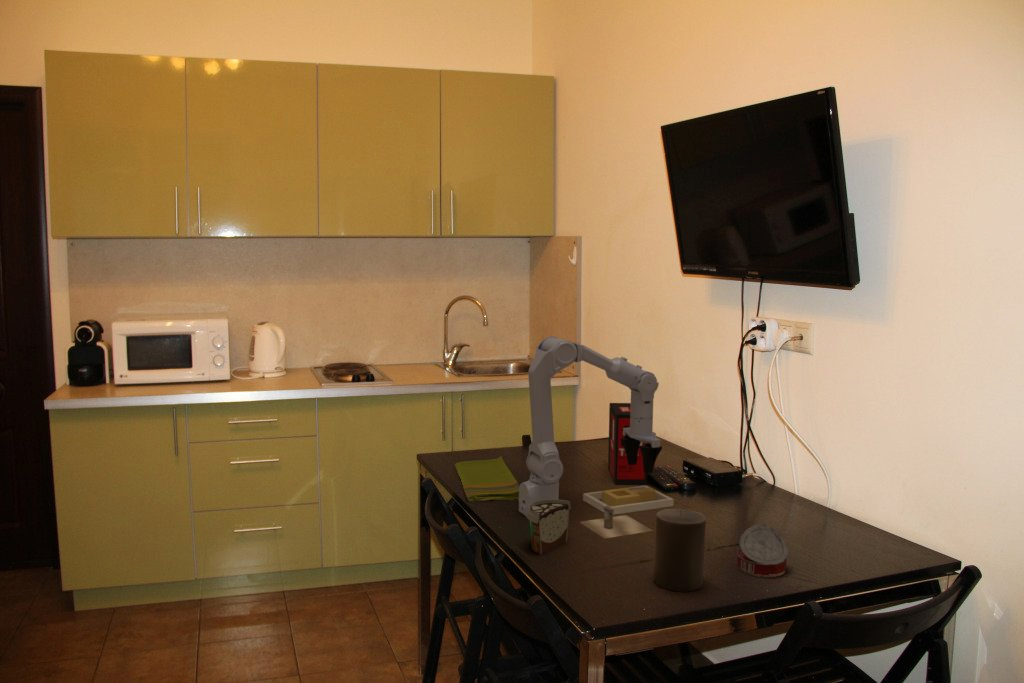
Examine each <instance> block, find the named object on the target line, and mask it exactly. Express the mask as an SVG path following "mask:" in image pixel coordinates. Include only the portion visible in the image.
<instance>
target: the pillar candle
mask: <svg viewBox="0 0 1024 683" xmlns="http://www.w3.org/2000/svg"><path fill="white" fill-rule="evenodd" d="M706 521H707V518H706V516H705V515H704V514H703V513H700V512H698V511H695V510H690V509H684V508H683V509H682V508H681V509H680V508H665V509H663V510H660V511H658V512H657V513H656V525H655V543H654V544H655V547H654V565H653V580H654V583H655V584H656V585H657V586H659V587H661V588H662V589H664V590H665V589H666V590H669V591H675V592H682V593H687V592H693V591H697V590H699V589H701V588H702V587H703V585H704V568H705V567H704V564H705V548H706V547H705V546H706V545H705V544H706V540H705V539H706V524H707V523H706Z"/></svg>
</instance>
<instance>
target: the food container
mask: <svg viewBox="0 0 1024 683" xmlns="http://www.w3.org/2000/svg"><path fill="white" fill-rule="evenodd" d="M571 505H572V504H571V501H569V500H567V499H566V500H565V499H547V500H540V501H536V502H534V503H532V504H530V506H529V508H528V511H527V515H526V516H527V517H526V516H525V517H526V518H527V519H528V521H529V526H530V527H529V528H530V543H531V549H532V550H533V552H534V553H537V554H539V555H542V554H545V553H546V552H548V551H550V550H552V549H556V547H560V546H561V545H564V544H565V543H567V542H568V534H569V532H568V530H569V520H570V510H572V506H571Z"/></svg>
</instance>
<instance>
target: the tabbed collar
mask: <svg viewBox="0 0 1024 683" xmlns="http://www.w3.org/2000/svg"><path fill="white" fill-rule="evenodd" d="M627 488H628V487H621V488H614V489H606V490H601V491H602V499H601V502H603V503H605V504H606V505H608V506H610V507H612V506H619V505H626V504H633V503H640V502H648V501H655V500H656V499H655V490H656V489H654V488H652V487H650V488H644V489H636V490H629V489H627Z"/></svg>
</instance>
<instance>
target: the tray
mask: <svg viewBox="0 0 1024 683" xmlns="http://www.w3.org/2000/svg"><path fill="white" fill-rule="evenodd" d="M626 488H627V489H629V490H636V489H644V488H651V487H650V486H648V485H636V486H630V487H626ZM654 490H655V501H648V502H640V503H633V504H626V505H619V506H612V507H610V506H609V505H607V504H605V503H603V502H602V491H603V490H600V491H591V492H585V493H583V494H582V498H583V499H582V501H583V502H586V503H587V504H589V505H590V506H592V507H594V508H596V509H597V510H599V511H601V512H602V513H604V506H609V507H610V508H612V509H614V513H613V516H614V515H623V514H626V513H634V512H640V511H641V512H642V511H649V510H655V509H661V508H669V507H674V504H675V503H674V502H675V499H674V498H672V497H671V496H668V495H665V494H664V493H662V492H660V491H658V490H656V489H654Z"/></svg>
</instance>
